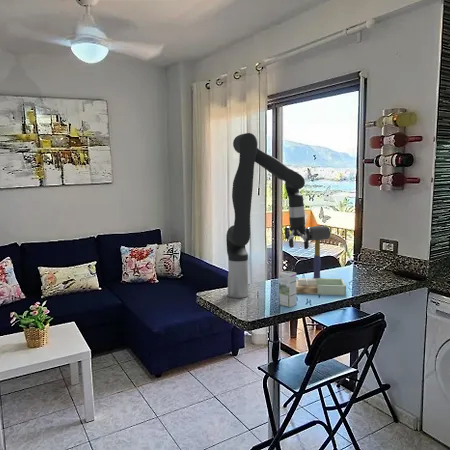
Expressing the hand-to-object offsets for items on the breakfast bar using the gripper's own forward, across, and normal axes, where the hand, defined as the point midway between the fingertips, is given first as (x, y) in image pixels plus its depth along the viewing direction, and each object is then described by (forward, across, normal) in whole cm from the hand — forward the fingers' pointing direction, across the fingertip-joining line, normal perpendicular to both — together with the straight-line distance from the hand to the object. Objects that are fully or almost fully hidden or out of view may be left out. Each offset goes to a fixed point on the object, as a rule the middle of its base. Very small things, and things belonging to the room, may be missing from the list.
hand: (298, 248), depth 209 cm
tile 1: (+17, +2, -2) cm, 18 cm away
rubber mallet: (+22, 0, +14) cm, 26 cm away
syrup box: (+19, +11, -27) cm, 35 cm away
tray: (+21, +13, +5) cm, 26 cm away
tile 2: (+18, +6, 0) cm, 19 cm away
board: (+20, +3, -2) cm, 21 cm away
